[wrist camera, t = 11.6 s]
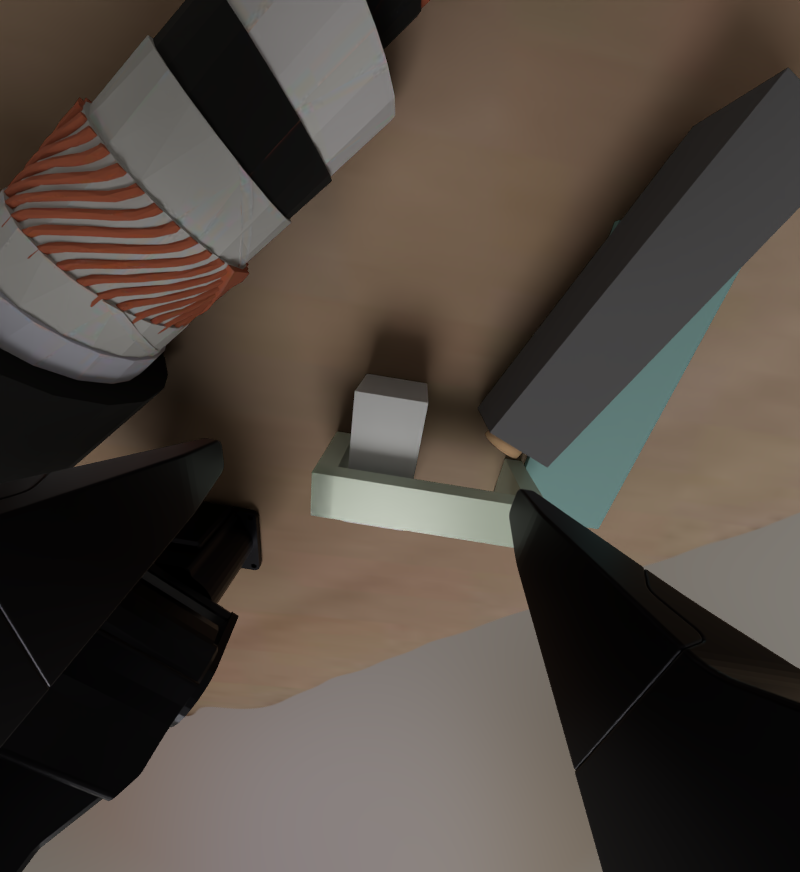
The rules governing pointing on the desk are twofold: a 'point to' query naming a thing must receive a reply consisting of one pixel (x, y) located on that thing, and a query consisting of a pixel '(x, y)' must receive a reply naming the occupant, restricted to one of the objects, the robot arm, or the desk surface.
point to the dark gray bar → (654, 270)
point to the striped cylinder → (171, 202)
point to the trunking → (387, 426)
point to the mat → (620, 429)
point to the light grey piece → (415, 499)
